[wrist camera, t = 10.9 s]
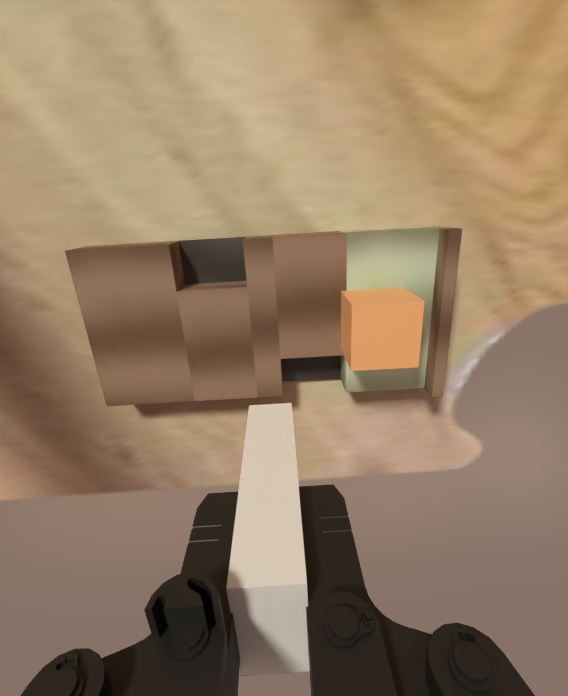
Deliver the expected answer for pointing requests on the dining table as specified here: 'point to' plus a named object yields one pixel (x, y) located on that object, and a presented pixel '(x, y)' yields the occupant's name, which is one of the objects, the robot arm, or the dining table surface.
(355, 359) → the block
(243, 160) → the dining table surface
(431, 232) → the board
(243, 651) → the robot arm
